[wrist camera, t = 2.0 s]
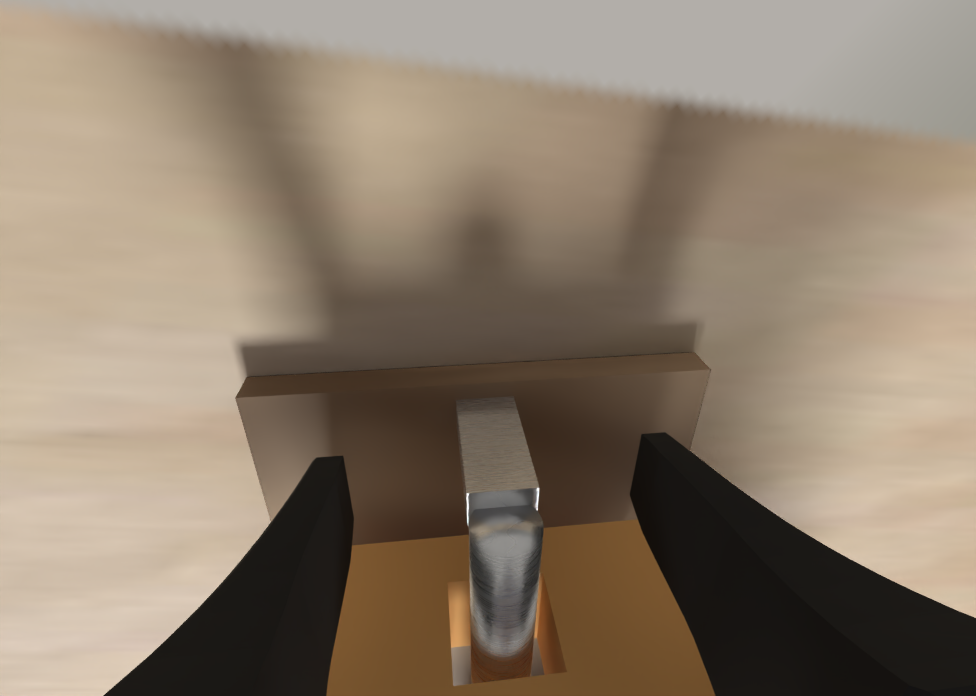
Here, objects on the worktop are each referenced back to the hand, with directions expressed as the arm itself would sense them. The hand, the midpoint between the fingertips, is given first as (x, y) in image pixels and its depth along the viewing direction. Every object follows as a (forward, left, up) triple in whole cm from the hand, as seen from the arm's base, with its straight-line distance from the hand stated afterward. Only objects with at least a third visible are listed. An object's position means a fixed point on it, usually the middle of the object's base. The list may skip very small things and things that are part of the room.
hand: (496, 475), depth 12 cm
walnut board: (-8, 0, -3) cm, 9 cm away
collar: (-5, 0, -1) cm, 5 cm away
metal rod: (-8, 0, -3) cm, 9 cm away
